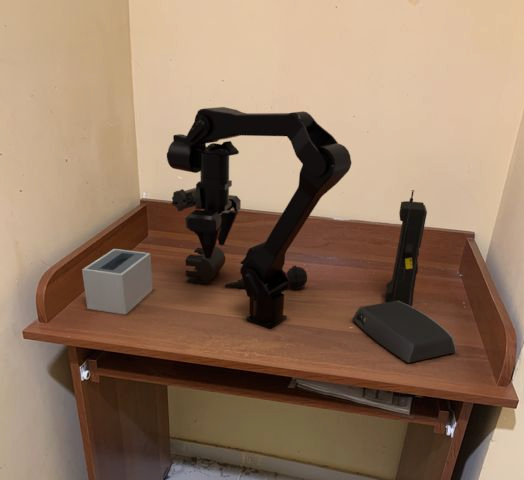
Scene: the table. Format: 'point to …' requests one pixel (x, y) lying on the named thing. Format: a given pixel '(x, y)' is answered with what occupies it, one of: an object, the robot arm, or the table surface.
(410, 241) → the portable radio
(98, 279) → the grey hollow block
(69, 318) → the table surface
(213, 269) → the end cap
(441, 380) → the table surface
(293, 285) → the microphone
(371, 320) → the hard drive
